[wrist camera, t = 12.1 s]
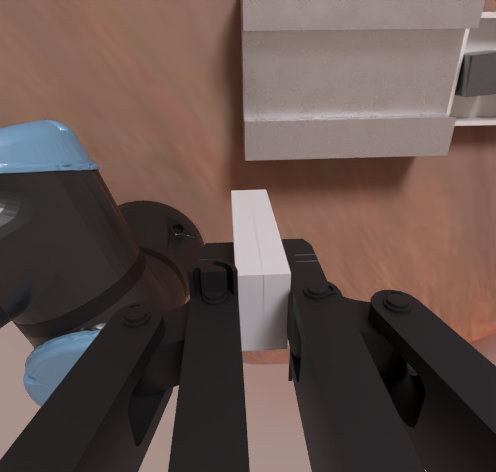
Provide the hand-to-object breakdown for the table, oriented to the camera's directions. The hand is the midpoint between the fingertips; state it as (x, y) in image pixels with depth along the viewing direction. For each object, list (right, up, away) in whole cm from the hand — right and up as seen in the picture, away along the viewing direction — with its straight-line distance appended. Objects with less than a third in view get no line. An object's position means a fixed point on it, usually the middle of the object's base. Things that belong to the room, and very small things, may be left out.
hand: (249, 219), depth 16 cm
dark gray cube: (+24, +18, +25) cm, 39 cm away
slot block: (+10, +18, +25) cm, 32 cm away
